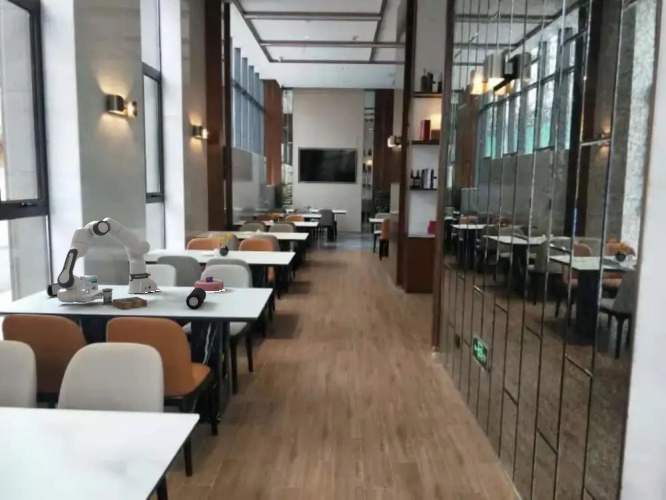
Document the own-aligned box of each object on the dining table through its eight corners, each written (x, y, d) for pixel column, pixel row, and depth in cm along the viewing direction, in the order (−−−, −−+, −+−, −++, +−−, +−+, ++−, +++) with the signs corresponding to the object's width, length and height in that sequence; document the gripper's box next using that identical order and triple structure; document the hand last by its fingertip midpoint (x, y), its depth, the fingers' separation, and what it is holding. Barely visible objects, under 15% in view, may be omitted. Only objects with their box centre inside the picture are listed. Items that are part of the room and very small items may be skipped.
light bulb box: (98, 290, 413) (97, 275, 412) (91, 291, 407) (91, 276, 406) (86, 289, 417) (86, 274, 416) (80, 290, 411) (79, 276, 409)
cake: (209, 295, 398) (209, 280, 397) (184, 291, 411) (184, 277, 410) (233, 290, 419) (233, 276, 418) (208, 287, 432) (208, 273, 431)
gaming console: (46, 297, 382) (48, 297, 381) (44, 284, 382) (47, 284, 381) (69, 293, 400) (71, 293, 399) (67, 281, 400) (70, 280, 399)
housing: (111, 302, 367) (110, 287, 366) (115, 304, 362) (114, 289, 361) (100, 304, 362) (100, 288, 361) (104, 305, 357) (103, 290, 356)
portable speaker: (191, 301, 374) (191, 287, 372) (206, 301, 374) (206, 287, 373) (185, 309, 348) (185, 294, 347) (201, 309, 349) (201, 294, 348)
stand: (137, 302, 369) (137, 296, 368) (147, 306, 357) (146, 299, 356) (112, 305, 358) (112, 298, 358) (121, 309, 346) (121, 302, 346)
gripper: (76, 294, 351) (98, 294, 351) (89, 288, 371) (110, 288, 371) (76, 304, 352) (98, 304, 352) (90, 297, 372) (111, 297, 372)
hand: (105, 296), depth 362 cm, fingers open, 8 cm apart
